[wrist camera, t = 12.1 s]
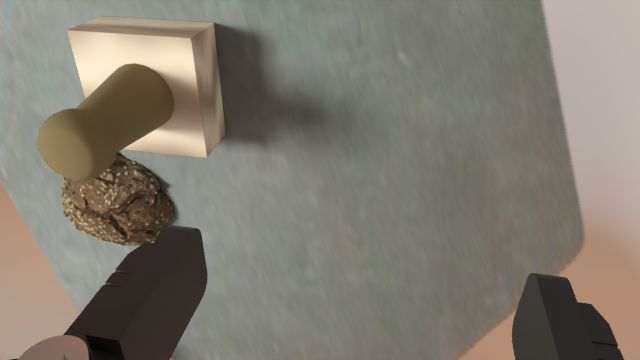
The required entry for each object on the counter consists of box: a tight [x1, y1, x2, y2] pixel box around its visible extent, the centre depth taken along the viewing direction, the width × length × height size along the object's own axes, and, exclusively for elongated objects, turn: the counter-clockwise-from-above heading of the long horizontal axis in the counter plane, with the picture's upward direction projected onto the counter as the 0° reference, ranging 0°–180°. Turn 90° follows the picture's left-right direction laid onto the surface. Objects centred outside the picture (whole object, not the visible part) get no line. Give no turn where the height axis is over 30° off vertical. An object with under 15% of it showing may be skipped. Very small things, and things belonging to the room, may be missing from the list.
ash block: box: [67, 16, 226, 158], centre depth 44 cm, size 11×11×5 cm
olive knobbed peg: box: [37, 63, 174, 180], centre depth 37 cm, size 6×6×11 cm
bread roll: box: [61, 153, 174, 246], centre depth 54 cm, size 13×12×5 cm
